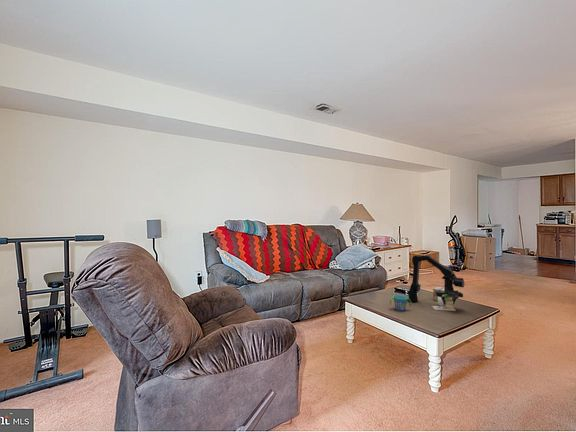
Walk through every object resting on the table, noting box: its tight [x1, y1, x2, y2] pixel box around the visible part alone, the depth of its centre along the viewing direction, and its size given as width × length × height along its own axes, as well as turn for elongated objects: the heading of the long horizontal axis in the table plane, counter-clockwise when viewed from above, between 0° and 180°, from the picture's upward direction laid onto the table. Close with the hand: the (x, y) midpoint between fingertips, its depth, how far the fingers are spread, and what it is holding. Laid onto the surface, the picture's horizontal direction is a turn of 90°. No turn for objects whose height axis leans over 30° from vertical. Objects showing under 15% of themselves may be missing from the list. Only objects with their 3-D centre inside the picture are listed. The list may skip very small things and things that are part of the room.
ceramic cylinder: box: [437, 297, 444, 307], centre depth 227 cm, size 4×4×6 cm
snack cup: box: [389, 294, 412, 312], centre depth 218 cm, size 16×10×10 cm
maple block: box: [443, 298, 454, 309], centre depth 218 cm, size 5×5×6 cm
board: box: [431, 305, 457, 312], centre depth 218 cm, size 15×8×1 cm, turn 80°
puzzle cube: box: [432, 286, 451, 302], centre depth 239 cm, size 10×10×10 cm
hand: (448, 304), depth 218 cm, fingers open, 6 cm apart
